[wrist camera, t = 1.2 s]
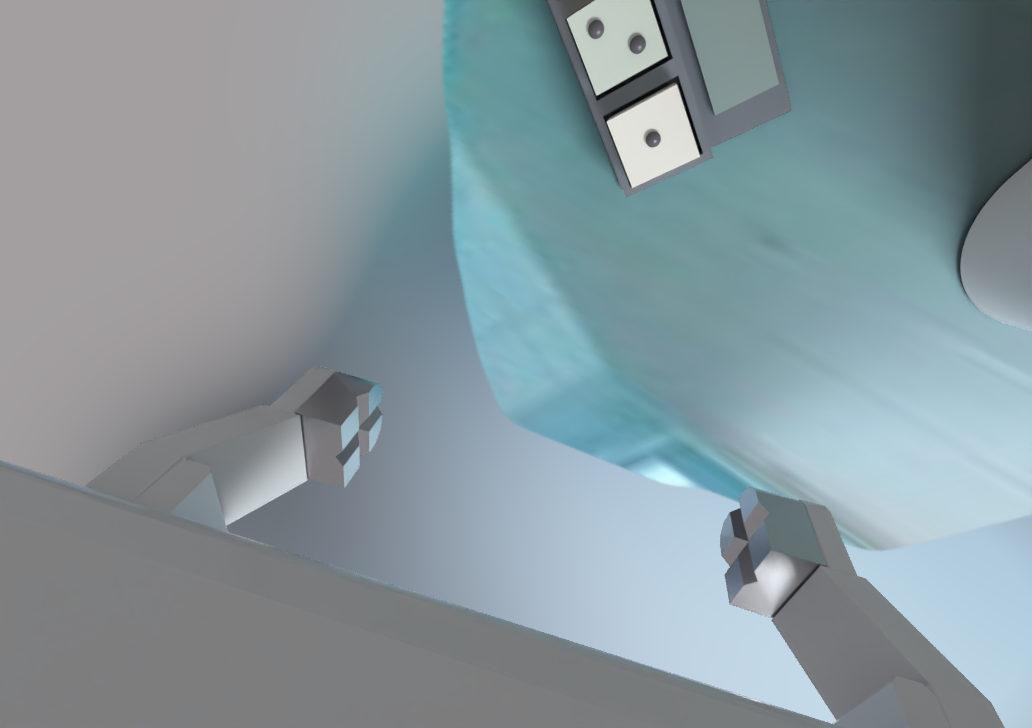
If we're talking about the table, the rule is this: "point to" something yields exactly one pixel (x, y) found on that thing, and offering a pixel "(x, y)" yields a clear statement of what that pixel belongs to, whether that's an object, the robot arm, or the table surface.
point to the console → (694, 73)
